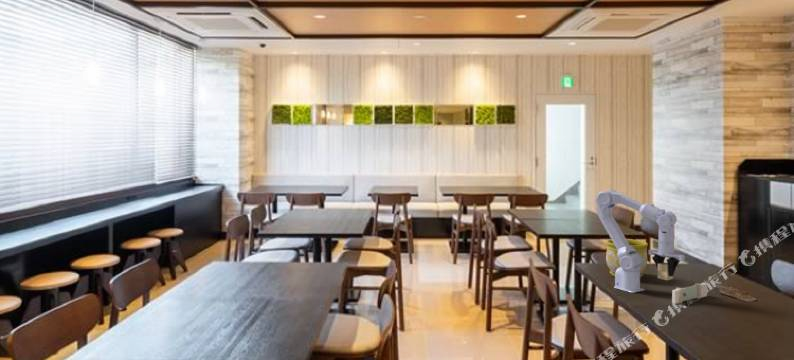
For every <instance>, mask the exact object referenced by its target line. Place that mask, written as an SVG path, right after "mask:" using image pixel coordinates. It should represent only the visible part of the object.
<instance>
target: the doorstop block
mask: <svg viewBox="0 0 794 360" xmlns="http://www.w3.org/2000/svg"><path fill="white" fill-rule="evenodd" d="M657 279H660V280H664V281H670V280H673V279H674V275H673V276H669V275H668V264H667V262H666V261H664V262H663V263H659V264H658V271H657Z"/></svg>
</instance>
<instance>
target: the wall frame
mask: <svg viewBox="0 0 794 360" xmlns="http://www.w3.org/2000/svg"><path fill="white" fill-rule="evenodd" d="M694 285H696V286H697V298H696V299H701V298H704V297H708V283H706V282H703V283H694ZM694 285H693V286H694ZM682 288H683V287H675V289H672V291H671V294H672V296H671V304H673V305H676V304H683V301H682V293H683V289H682Z"/></svg>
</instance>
